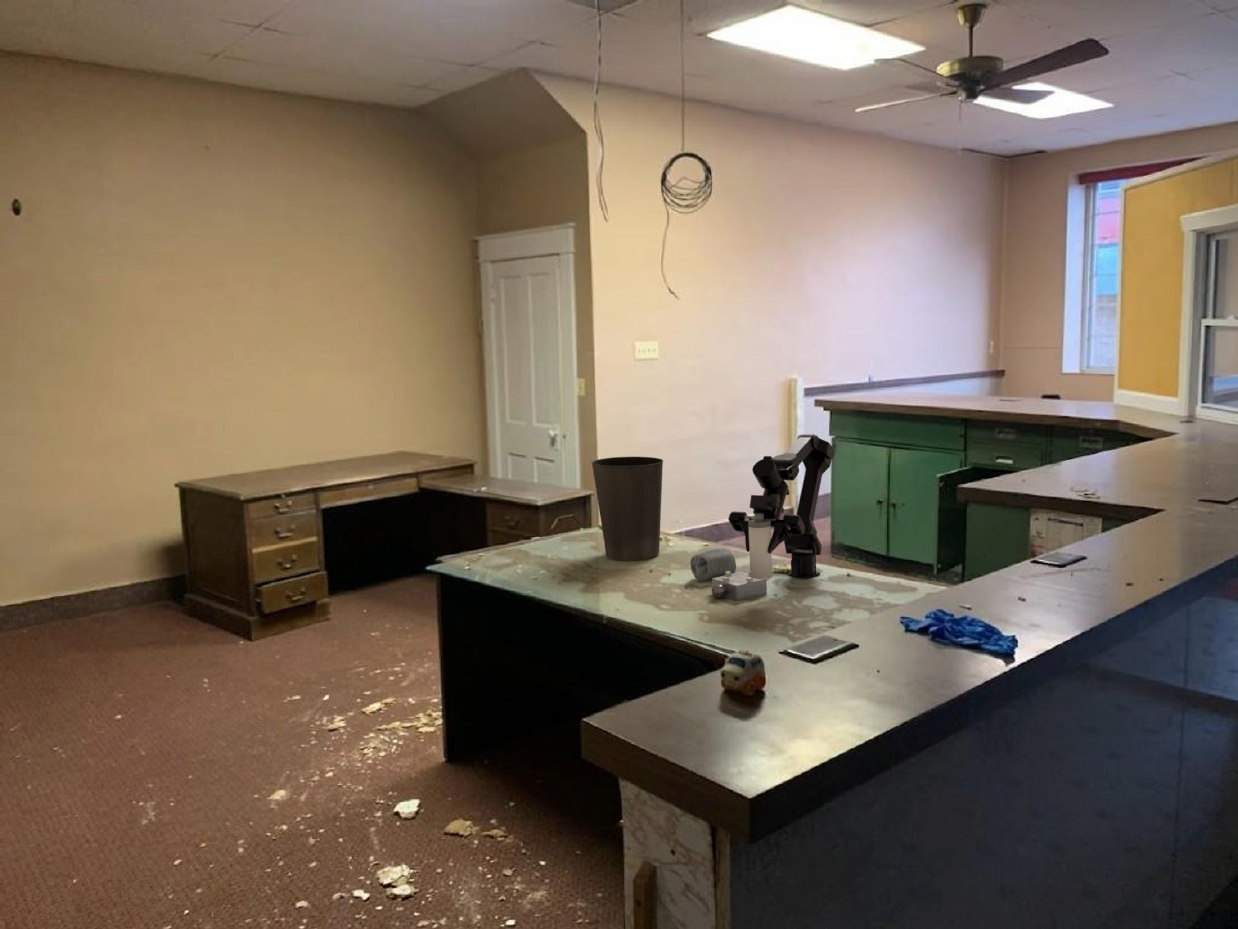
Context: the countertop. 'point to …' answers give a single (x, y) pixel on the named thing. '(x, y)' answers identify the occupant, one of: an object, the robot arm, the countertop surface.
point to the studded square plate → (738, 586)
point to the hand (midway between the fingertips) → (758, 551)
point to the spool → (712, 564)
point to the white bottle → (760, 547)
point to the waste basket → (629, 505)
